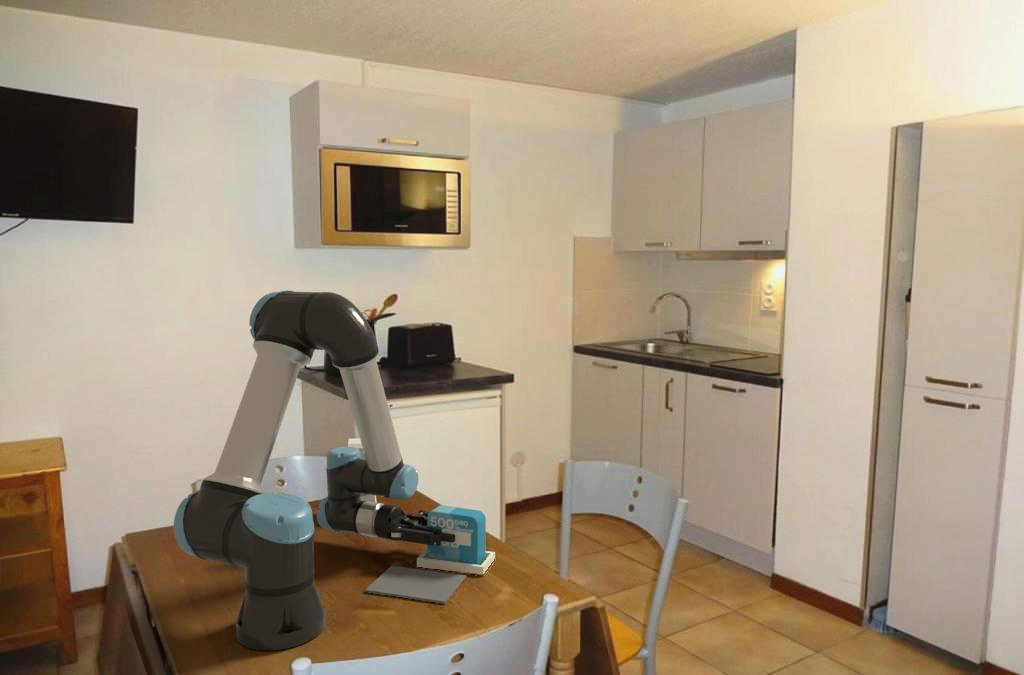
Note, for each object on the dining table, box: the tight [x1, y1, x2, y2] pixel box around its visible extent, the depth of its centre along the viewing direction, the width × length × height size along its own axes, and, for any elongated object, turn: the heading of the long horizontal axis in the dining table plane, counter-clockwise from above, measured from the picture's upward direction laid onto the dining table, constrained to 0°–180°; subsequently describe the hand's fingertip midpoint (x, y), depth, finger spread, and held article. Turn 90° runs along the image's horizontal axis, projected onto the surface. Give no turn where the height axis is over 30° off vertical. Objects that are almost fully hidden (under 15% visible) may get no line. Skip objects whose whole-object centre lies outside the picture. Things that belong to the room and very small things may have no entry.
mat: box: [364, 565, 467, 605], centre depth 144 cm, size 12×17×1 cm
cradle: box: [416, 547, 496, 574], centre depth 154 cm, size 8×15×2 cm, turn 74°
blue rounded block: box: [427, 504, 487, 565], centre depth 154 cm, size 12×4×12 cm, turn 69°
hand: (475, 535), depth 152 cm, fingers closed on blue rounded block, 4 cm apart
